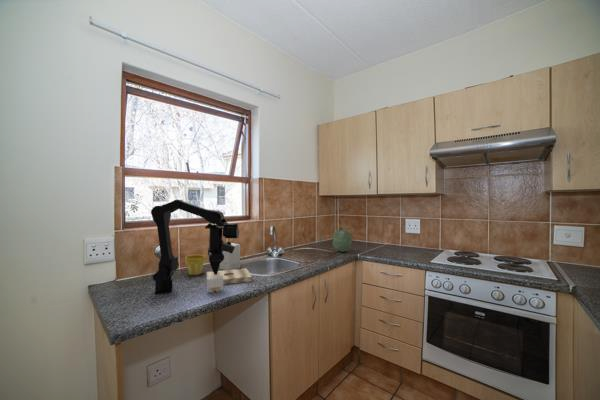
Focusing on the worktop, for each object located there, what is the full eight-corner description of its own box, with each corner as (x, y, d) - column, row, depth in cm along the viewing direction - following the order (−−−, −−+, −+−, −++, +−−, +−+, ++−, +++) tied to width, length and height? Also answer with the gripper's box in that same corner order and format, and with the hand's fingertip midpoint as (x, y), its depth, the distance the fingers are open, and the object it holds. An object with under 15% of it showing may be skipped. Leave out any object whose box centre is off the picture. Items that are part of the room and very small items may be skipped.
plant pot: (192, 270, 145) (193, 253, 145) (208, 271, 143) (208, 255, 143) (180, 275, 135) (181, 257, 135) (197, 276, 132) (197, 259, 132)
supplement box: (240, 268, 151) (241, 244, 151) (228, 271, 144) (229, 246, 144) (231, 265, 156) (231, 242, 156) (219, 268, 149) (220, 244, 149)
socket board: (207, 286, 119) (207, 281, 119) (206, 276, 134) (206, 271, 134) (252, 281, 127) (252, 276, 127) (246, 272, 142) (246, 268, 142)
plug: (206, 294, 109) (207, 279, 109) (206, 290, 113) (207, 276, 113) (223, 292, 112) (223, 278, 112) (222, 288, 116) (222, 275, 116)
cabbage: (340, 249, 217) (341, 227, 217) (356, 253, 201) (357, 229, 201) (327, 251, 208) (327, 227, 208) (342, 255, 192) (343, 230, 193)
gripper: (236, 240, 107) (235, 275, 107) (231, 234, 124) (230, 264, 124) (209, 241, 103) (208, 278, 103) (208, 235, 120) (207, 266, 120)
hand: (215, 271), depth 113 cm, fingers open, 9 cm apart
